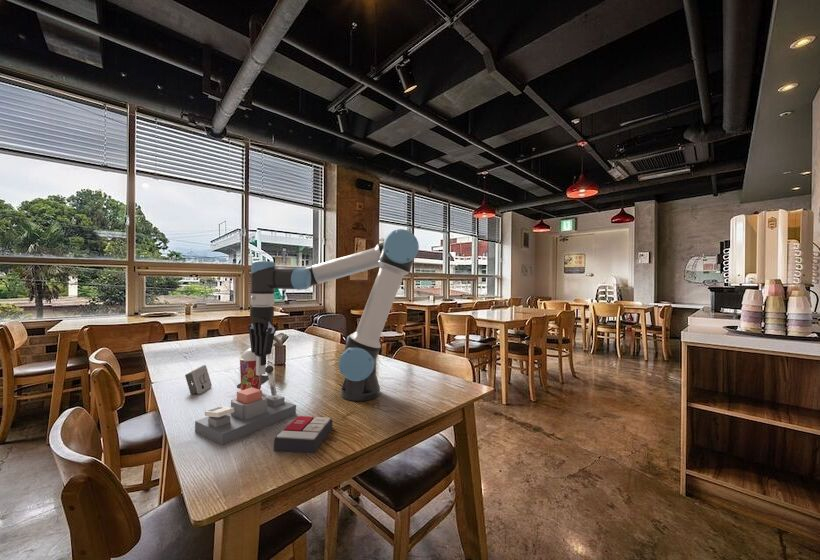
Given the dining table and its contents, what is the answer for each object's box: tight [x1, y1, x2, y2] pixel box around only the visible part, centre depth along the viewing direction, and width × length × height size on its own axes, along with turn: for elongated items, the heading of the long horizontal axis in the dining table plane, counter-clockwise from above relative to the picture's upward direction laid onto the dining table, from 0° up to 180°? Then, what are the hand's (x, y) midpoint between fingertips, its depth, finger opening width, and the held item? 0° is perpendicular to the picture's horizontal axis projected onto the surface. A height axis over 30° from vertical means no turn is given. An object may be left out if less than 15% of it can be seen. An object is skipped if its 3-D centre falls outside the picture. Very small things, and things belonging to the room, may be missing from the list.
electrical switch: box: [184, 364, 213, 395], centre depth 126 cm, size 9×5×9 cm, turn 7°
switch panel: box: [194, 394, 297, 446], centre depth 100 cm, size 24×14×7 cm, turn 149°
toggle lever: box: [265, 364, 278, 396], centre depth 109 cm, size 3×3×10 cm
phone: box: [236, 374, 269, 389], centre depth 138 cm, size 8×1×15 cm
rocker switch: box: [204, 406, 234, 417], centre depth 93 cm, size 4×7×1 cm, turn 59°
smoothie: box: [239, 347, 262, 391], centre depth 125 cm, size 8×8×20 cm
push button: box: [236, 387, 263, 404], centre depth 100 cm, size 5×5×4 cm
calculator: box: [273, 415, 333, 455], centre depth 91 cm, size 11×4×15 cm
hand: (260, 374), depth 112 cm, fingers closed
